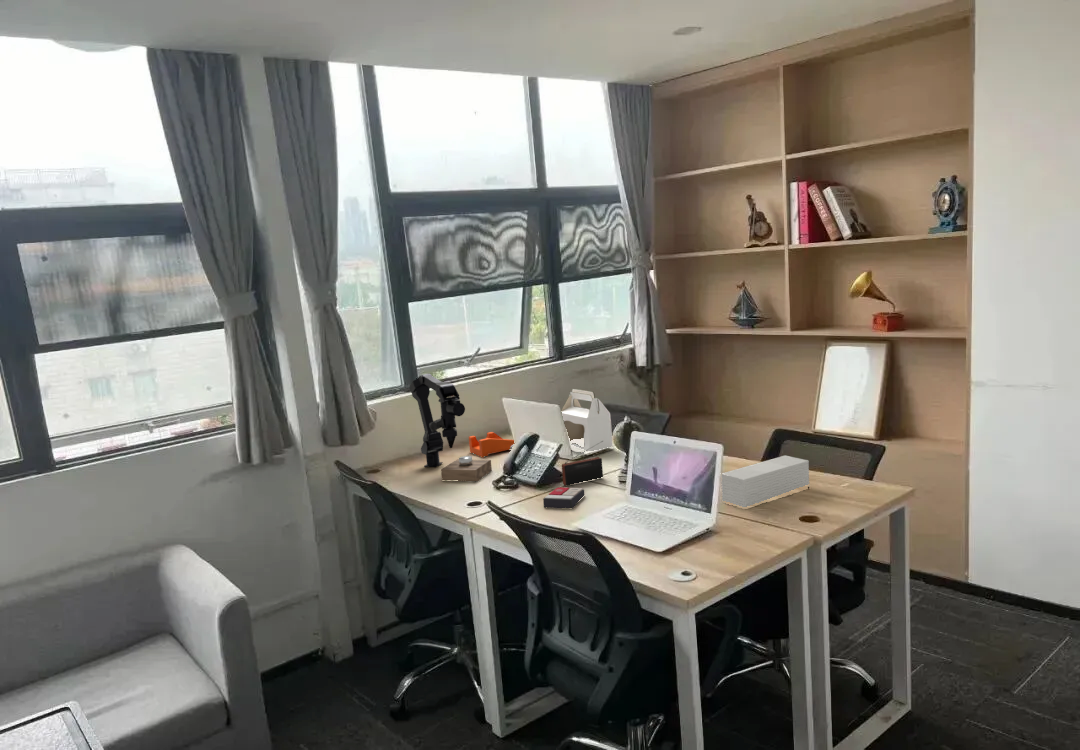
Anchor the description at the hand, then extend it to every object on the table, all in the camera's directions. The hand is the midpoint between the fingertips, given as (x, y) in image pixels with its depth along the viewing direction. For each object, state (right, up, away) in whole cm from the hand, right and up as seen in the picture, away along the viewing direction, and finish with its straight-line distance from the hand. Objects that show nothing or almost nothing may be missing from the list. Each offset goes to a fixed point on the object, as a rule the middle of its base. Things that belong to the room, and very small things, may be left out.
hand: (450, 447), depth 336 cm
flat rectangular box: (+48, -16, -51) cm, 72 cm away
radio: (+57, -11, -28) cm, 64 cm away
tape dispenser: (+16, -5, +34) cm, 38 cm away
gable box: (+61, -3, +23) cm, 65 cm away
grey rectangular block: (+119, -11, -63) cm, 135 cm away
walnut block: (+8, -11, -6) cm, 15 cm away
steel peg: (+8, -11, -6) cm, 15 cm away
